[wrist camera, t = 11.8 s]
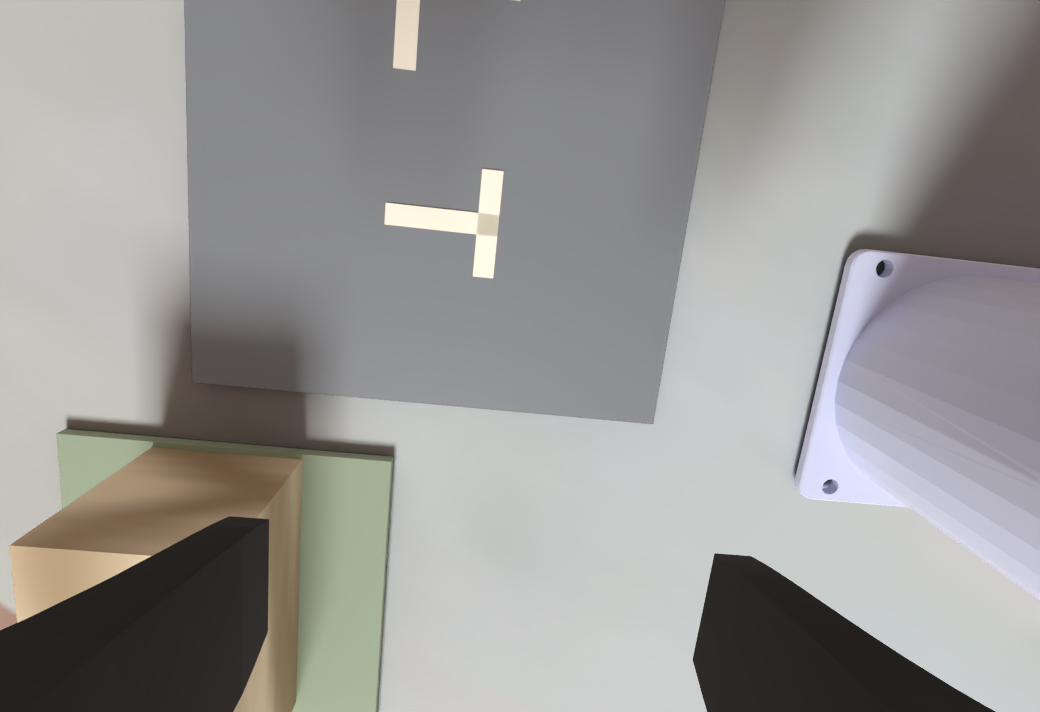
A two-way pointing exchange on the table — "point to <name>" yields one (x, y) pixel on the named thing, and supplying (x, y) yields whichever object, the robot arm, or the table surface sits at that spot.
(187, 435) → the table surface
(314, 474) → the green square tile
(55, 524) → the birch block
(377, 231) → the gray tile
